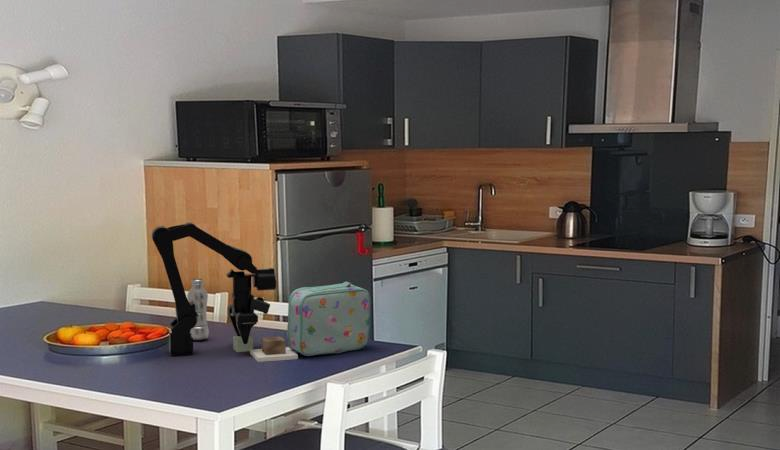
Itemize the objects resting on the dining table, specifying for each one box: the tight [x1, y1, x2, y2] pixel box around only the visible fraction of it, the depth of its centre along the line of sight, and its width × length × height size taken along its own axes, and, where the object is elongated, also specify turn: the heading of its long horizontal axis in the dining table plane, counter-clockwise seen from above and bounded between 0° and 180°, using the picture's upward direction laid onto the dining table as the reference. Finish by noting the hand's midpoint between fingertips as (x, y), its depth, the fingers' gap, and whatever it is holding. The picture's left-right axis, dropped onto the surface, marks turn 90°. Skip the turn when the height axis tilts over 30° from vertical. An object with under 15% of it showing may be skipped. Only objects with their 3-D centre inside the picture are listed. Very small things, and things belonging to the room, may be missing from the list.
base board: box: [249, 346, 299, 363], centre depth 278 cm, size 12×12×1 cm
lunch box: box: [286, 281, 372, 357], centre depth 284 cm, size 27×10×21 cm, turn 126°
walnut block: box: [261, 336, 287, 355], centre depth 278 cm, size 6×6×4 cm
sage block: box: [232, 335, 254, 353], centre depth 287 cm, size 5×5×4 cm
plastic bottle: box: [186, 278, 210, 341], centre depth 300 cm, size 6×7×20 cm
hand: (242, 340), depth 287 cm, fingers open, 9 cm apart
